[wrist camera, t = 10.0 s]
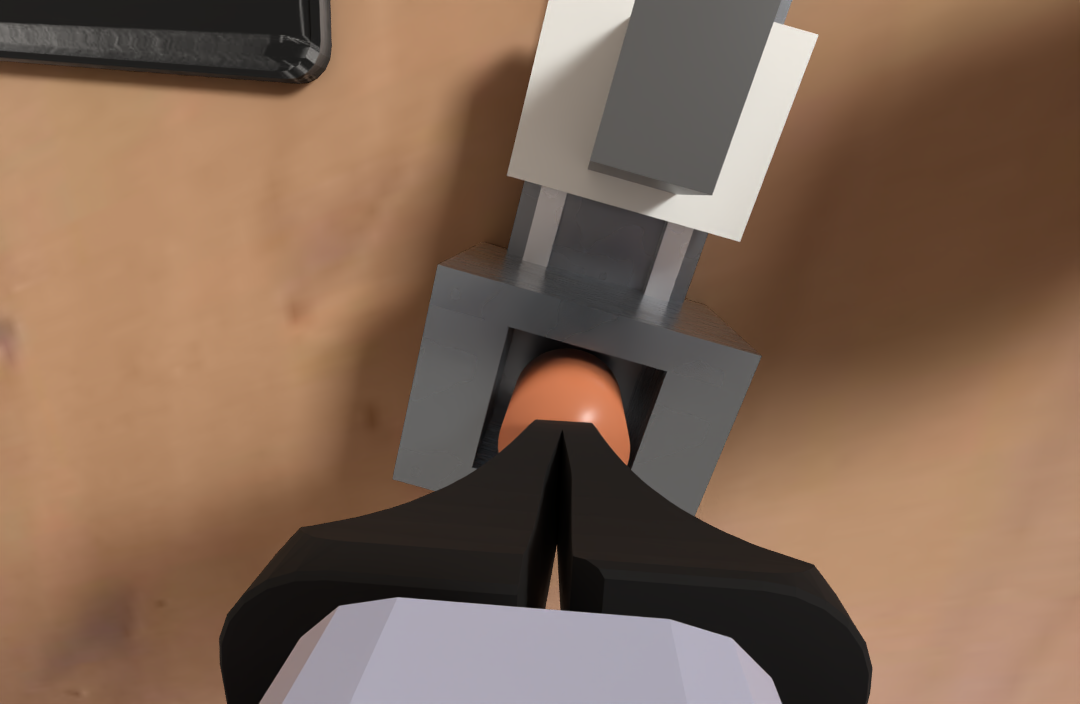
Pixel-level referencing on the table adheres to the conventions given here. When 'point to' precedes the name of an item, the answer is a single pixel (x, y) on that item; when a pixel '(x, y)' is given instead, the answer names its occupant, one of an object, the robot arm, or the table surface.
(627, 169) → the carriage
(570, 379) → the button
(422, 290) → the table surface
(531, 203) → the rail base
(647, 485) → the robot arm
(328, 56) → the phone
